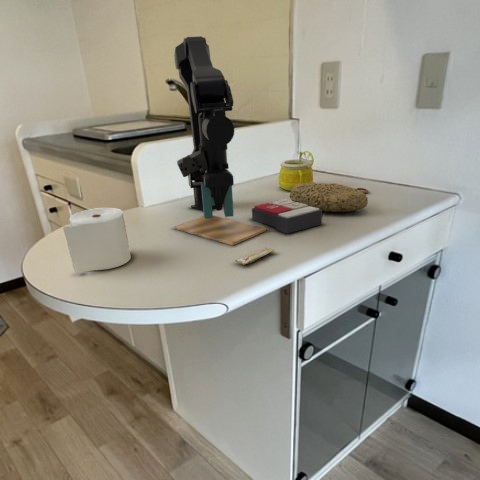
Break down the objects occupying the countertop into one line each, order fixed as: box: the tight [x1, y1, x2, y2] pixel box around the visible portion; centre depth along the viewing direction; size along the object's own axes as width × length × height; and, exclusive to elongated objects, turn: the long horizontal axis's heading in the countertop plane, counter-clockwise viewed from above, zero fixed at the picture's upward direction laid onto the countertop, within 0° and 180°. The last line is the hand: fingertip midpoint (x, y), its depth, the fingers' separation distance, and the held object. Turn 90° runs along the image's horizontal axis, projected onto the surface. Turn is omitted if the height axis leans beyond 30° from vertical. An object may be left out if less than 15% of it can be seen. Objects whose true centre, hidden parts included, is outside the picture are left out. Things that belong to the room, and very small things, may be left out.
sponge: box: [289, 181, 369, 213], centre depth 117 cm, size 13×8×20 cm
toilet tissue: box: [62, 207, 132, 273], centre depth 91 cm, size 11×12×10 cm
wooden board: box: [174, 215, 267, 246], centre depth 108 cm, size 20×12×1 cm, turn 48°
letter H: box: [201, 182, 234, 219], centre depth 105 cm, size 3×7×8 cm, turn 98°
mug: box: [278, 150, 314, 192], centre depth 136 cm, size 13×11×12 cm
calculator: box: [251, 198, 323, 234], centre depth 110 cm, size 11×4×15 cm
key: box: [356, 187, 369, 194], centre depth 127 cm, size 6×1×15 cm
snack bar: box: [234, 247, 276, 266], centre depth 91 cm, size 10×2×3 cm
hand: (218, 208), depth 106 cm, fingers closed on letter H, 3 cm apart
